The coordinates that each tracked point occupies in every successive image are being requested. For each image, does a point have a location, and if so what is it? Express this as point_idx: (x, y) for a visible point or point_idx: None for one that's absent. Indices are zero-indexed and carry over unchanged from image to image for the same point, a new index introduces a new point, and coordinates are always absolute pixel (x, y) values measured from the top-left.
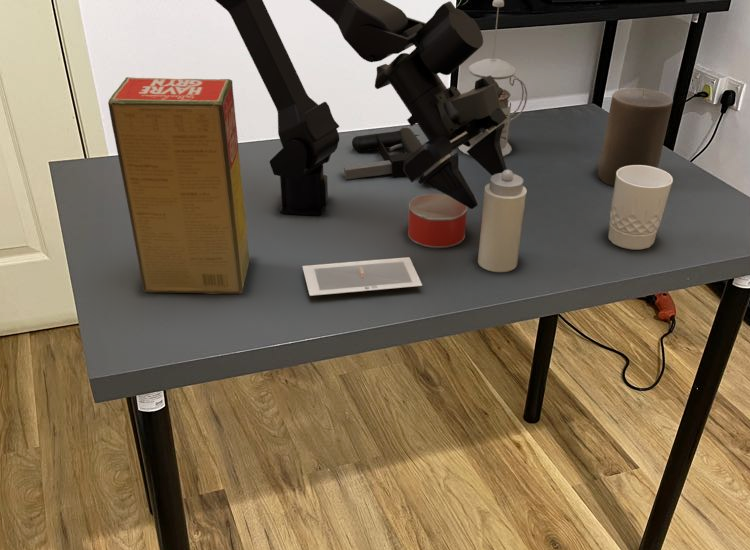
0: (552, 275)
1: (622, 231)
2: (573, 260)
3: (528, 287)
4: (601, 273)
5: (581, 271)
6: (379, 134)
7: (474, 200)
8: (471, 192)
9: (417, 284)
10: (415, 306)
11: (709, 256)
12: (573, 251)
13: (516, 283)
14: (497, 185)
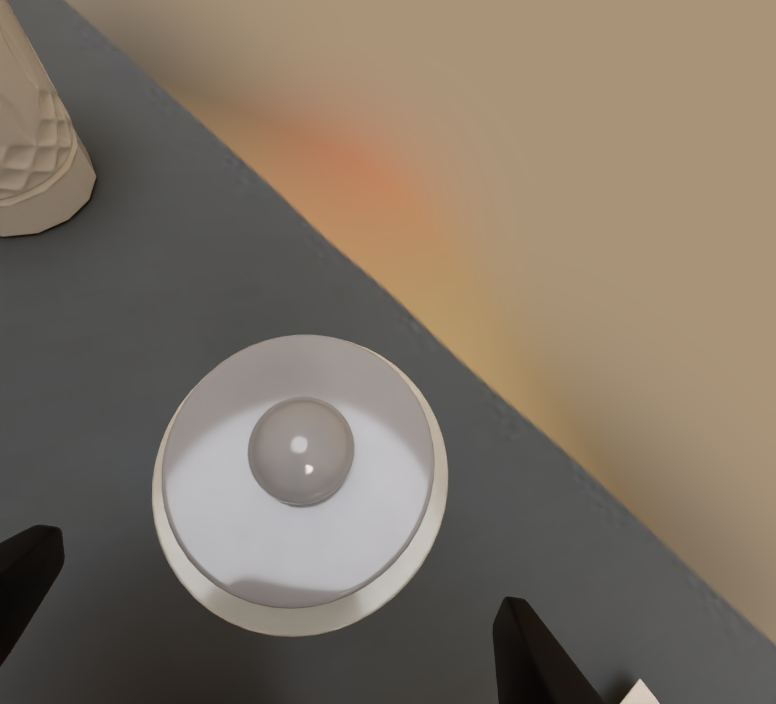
0: (324, 332)
1: (61, 166)
2: (212, 299)
3: (418, 374)
4: (260, 227)
5: (270, 270)
6: None
7: (537, 623)
8: (552, 676)
9: (645, 701)
10: (695, 650)
11: (80, 40)
12: (152, 308)
13: None
14: (427, 493)
